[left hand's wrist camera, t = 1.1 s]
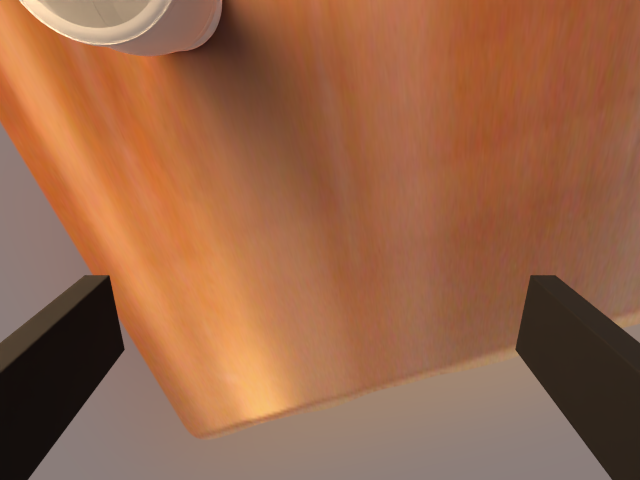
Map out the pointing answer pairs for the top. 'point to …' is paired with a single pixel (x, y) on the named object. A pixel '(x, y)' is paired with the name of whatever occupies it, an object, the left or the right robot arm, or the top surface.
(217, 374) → the top surface
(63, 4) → the jar
